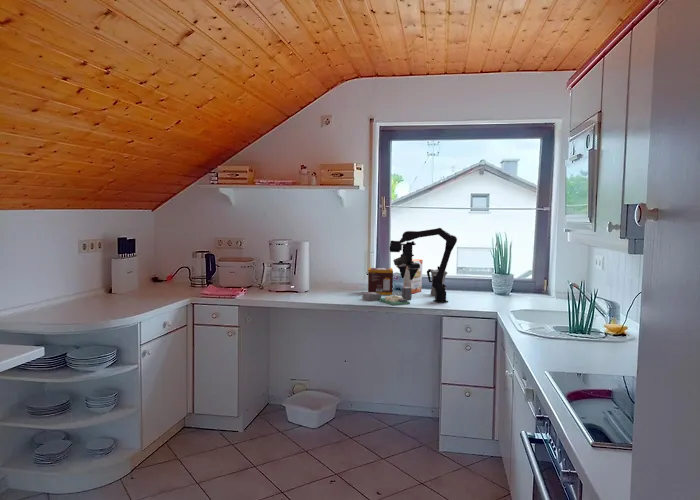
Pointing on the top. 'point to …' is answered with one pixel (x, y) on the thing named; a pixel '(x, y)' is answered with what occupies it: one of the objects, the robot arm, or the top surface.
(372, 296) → the speaker
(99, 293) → the top surface
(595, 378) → the top surface
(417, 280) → the cracker box
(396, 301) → the board
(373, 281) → the supplement box
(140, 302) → the top surface
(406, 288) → the plug
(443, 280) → the coffeepot
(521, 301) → the top surface
